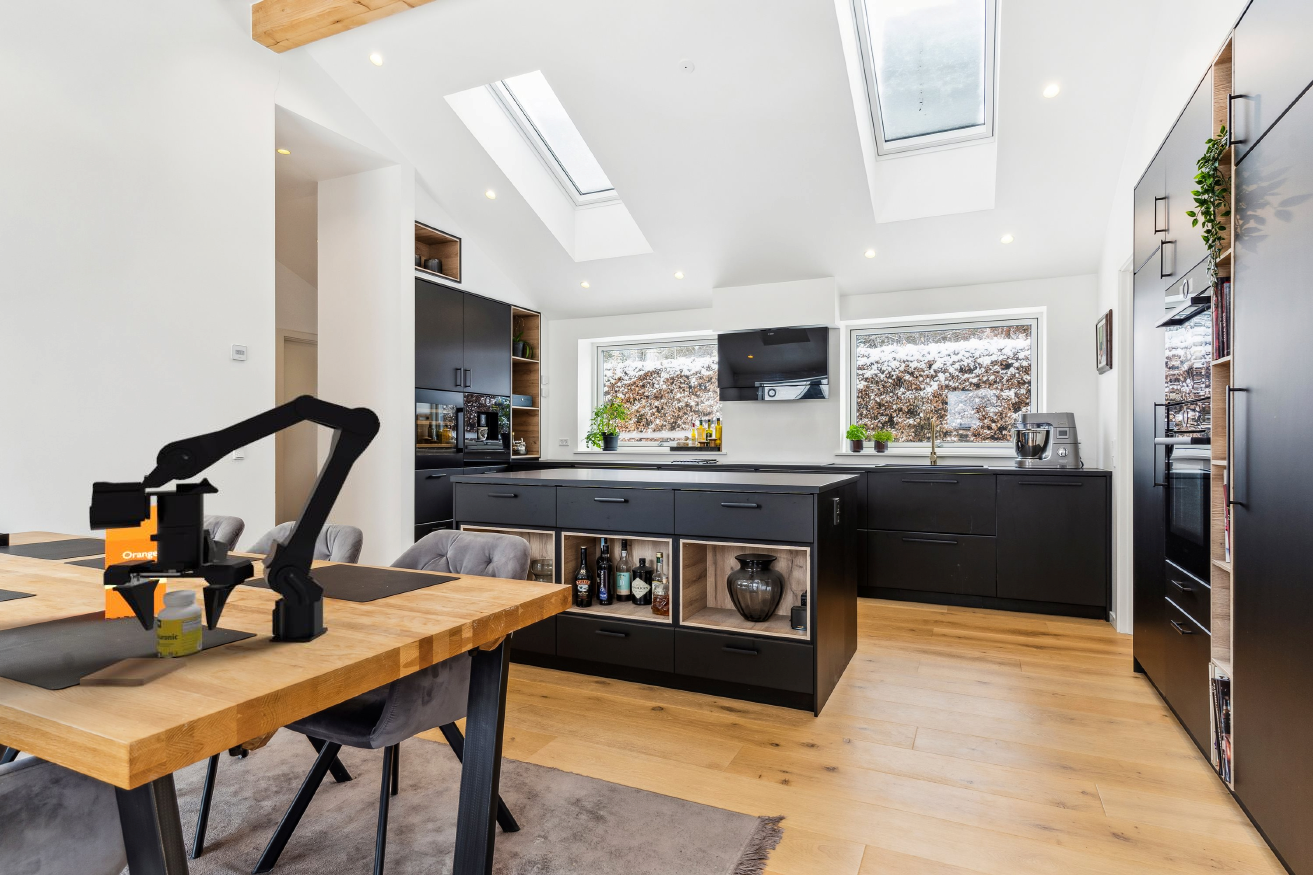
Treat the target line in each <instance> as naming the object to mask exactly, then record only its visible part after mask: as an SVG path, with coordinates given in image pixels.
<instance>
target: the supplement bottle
mask: <svg viewBox="0 0 1313 875" xmlns="http://www.w3.org/2000/svg"><path fill="white" fill-rule="evenodd" d="M196 601H197V591H196V590H193V589H181V590H174V591H168V592H166V593H165V594H164V595H163V604H164V605H165V608H163V609H161V610H160V611H159V613H157V619H156V622H157V623H156V624H157V628H156V629H157V632H156V633H157V635H156V637H157V638H156V639H157V640H156V641H157V646H156V647H157V648H156V650H157V655H158V656H157V655H156V656H157V658H160V657H178V658H185V657H189V656H193V655H196V654H199V653H201V652H202V651H203V650H202V649H203V647H202V646H203V632H202V631H203V630H202V629H203V628H202V627H203V626H202V625H203V624H202V623H203V622H202V621H203V619H202V618H203V617H202V614H203V613H202V612H203V610H202V607H201V606H200V605H198V604H196V603H195V602H196Z"/></svg>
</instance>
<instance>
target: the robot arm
mask: <svg viewBox="0 0 1313 875" xmlns="http://www.w3.org/2000/svg"><path fill="white" fill-rule="evenodd" d="M303 421H308V422H311V423H314V424H317V425H320V426H322V427H325V428H329V429H331V430H333V432H332V435H331V441H330V445H329V451H328V455H327V457H326V460H325V461H324V463H323V465H322V468H321V470H320V472H319V474H318V476H317V478H316V480H315V481H314V483H313V485H312V488H311V490H310V492H309V493H308V496H307V498H306V499H305V502H304V504H303V507H301V510H300V512H299V514H298V516H297V518H296V520H295V522H294V524H293V526H292V528H291V530H290V532H289V533H288V534H287V535H286V536H285V538H283V540H282V541H281V540H278V539H276V538H273V539H272V541H271V544H270V546H269V551H268V553H267V554H266V555H265V557H264V558H263V559H262V560H261V563H262V565H263V569H262V575H263V578H264V580H265V582H266V584H267V585H268V587H269V588H270V589H271V590H272V591H273V592H274V593H276V594H279V596H281V597H280V598H278V599H276V600H275V601H274V608H273V609H272V611H271V612H272V613H271V627H272V628H271V630H272V631H271V634H272V635H273V636H271V637H270V638H268V640H269V641H268V642H270V643H273V642H274V643H275V642H277V643H281V642H283V643H284V642H285V643H286V642H287V643H288V642H290V643H291V642H293V643H294V642H296V643H297V642H299V643H300V642H301V643H302V642H303V643H304V642H307V643H308V642H312V641H313V640H315V639H316V638H318V637H319V636H321V635H323V634H325V633H326V632H328V630H329V628H328V627H327V626H326V627H325V626H324V596H323V593H324V587H323V586H322V585H320V583H319V582H318V581H317V580H316V579H315V578H313V577H312V576H311V575H310V573H311V569H312V566H313V562H314V556H315V552H316V551H315V550H316V544H317V540H318V539H319V536H320V534H321V532H322V531H323V527H324V526H325V524H326V522H327V520H328V518H329V516H330V513H331V511H332V509H333V507H334V505H335V503H336V501H337V499H338V496H339V495H340V492H341V490H342V488H343V487H344V484H345V483H346V480H347V478H348V476H349V474H350V473H351V472H350V471H351V470H352V467H353V465H354V464H355V462H356V461H357V460H358V459H359V458H360V457H361V455H362V454H363V453H364V452H365V451H366V450H367V449H368V447H369V446H370V445H371V443H372V441H373V440H374V439H375V438H376V436H377V435H378V434H379V431H380V428H381V421H380V419H379V416H378V415H377V413H376V412H375V411H374V410H373V409H370V408H367V407H365V406H361V407H360V406H359V407H358V406H357V407H347V406H344V405H342V404H341V405H340V404H336V403H334V402H330V401H326V400H322V399H319V398H316V397H315V396H313V395H310V394H302V395H299V396H296V397H294V398H293V399H291V401H288V402H284V403H283V404H281V405H277V406H276V407H273V408H270V409H268V410H265V411H263V412H260V413H258V414H256V415H253V416H251V417H249V418H246V419H244V420H241V421H239V422H236V423H235V424H233V425H230V426H227V427H224V428H222V429H219V430H215V431H212V432H211V431H210V432H208V433H203V434H199V435H195V436H192V437H187V438H183V439H179V440H175V441H171V442H168V443H167V444H165V445H163V447H161V448H160V450H159V451H158V452H157V455H156V458H155V459H156V461H155V462H156V466H155V467H154V468H153V469H152V470H151V472H149V474H145V475H144V476H143V480H142V481H126V482H125V481H121V482H119V481H118V482H117V481H116V482H112V481H104V480H103V481H94V482H93V483H92V493H91V503H90V504H91V505H89V507H88V509H89V511H88V514H89V516H88V517H89V519H88V520H89V529H90V531H103V530H104V531H106V530H107V529H123V528H139V527H141V523H142V522H145V519H146V520H151V506H152V497H156V505H157V533H156V534H151V535H150V542H157V561H155V560H128V561H124V562H120V563H116V564H112V565H109V566H108V567H107V569H106V570H104V572H103V573H102V577H103V578H102V584H103V585H102V586H105V585H116V586H115V587H112V591H117V592H119V594H120V595H121V596H122V597H123V599H124V600H125V601H126V602H127V604H128V605H129V606H130V607H131V609H132V610H133V612H134V613H135V615H136V616H135V617H136V618H137V620H138V621H139V623H140V624H141V626H142V627H143V629H144V630H145V632H147V631H152V630H153V629H154V624H155V614H154V592H155V589H156V587H157V585H158V583H159V581H160V579H150V578H166V579H204V581H205V582H206V583H207V584H208V585H207V586H203V587H202V595H203V603H204V612H205V620H206V625H207V629H208V631H213V630H215V629H216V628H217V627H218V626H217V625H218V623H219V621H220V618H221V616H222V613H223V610H224V609H225V606H226V603H227V601H228V599H229V597H230V595H231V593H232V592H233V591H234V590H235V588H236V587H238V586H239V585H242V584H244V583H245V581H246V580H248V579H251V578H254V577H255V565H254V564H253V563H252V561H251V560H250V559H248V558H247V559H246V558H244V559H243V558H242V559H241V558H238V559H237V558H230V559H228V554H229V549H230V544H229V543H226V542H222V541H220V540H217V539H212V537H211V536H212V535H211V534H212V533H211V531H210V528H204V527H205V526H204V525H205V524H204V523H205V522H204V521H205V520H204V518H205V516H204V515H205V514H204V513H205V506H204V504H205V503H204V502H205V500H204V498H205V497H204V496H205V495H207V494H209V495H210V494H211V495H213V494H217V493H219V489H218V487H217V486H215V485H214V484H212V483H211V482H210V481H209V479H208V478H207V476H206V477H203V478H202V479H201V480H200V481H199V482H181V483H175V489H172V490H151V491H149V490H147V489H160V488H162V487H163V486H165V485H167V484H169V483H170V482H172V481H174V480H175V481H186V480H189V479H191V478H193V477H195V476H197V475H199V474H201V473H202V472H203V471H205V470H206V469H209V467H212V466H213V465H215V464H217V463H218V462H219V461H220V460H222V459H223V458H225V457H226V456H228V455H229V454H231V453H233V452H234V451H237V450H239V449H241V448H244V447H246V446H248V445H250V444H253V443H255V442H257V441H259V440H262V439H264V438H267V437H269V436H271V435H273V434H276V433H278V432H280V431H282V430H285V429H287V428H289V427H292V426H295V425H296V424H299V423H301V422H303Z"/></svg>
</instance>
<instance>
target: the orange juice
mask: <svg viewBox="0 0 1313 875" xmlns="http://www.w3.org/2000/svg"><path fill="white" fill-rule="evenodd" d="M156 533H157V504H156V505H151V520H146V519H145V522H142V523H141V527H139V528H123V529H107V530H105V542H104V543H105V554H104V555H105V560H104V561H105V562H104V563H105V564H104V565H105V570H106V569H107V567H108V566H109V565H112V564H116V563H120V562H124V561H128V560H155V561H157V542H150V535H151V534H156ZM105 570H104V571H105ZM150 579H160V581H159V583H158V585H157V587H156V589H155V592H154V615H155V614H157V615H158V613H159V611H160V610H161V609H163V608H165V605H164V604H163V595H164V594H165V593H167V578H150ZM115 586H116V585H104V592H105V593H104V594H105V596H104V597H105V598H104V599H105V603H104V604H105V605H104V606H105V607H104V608H105V620H107V619H106V618H111V619H117V617H120V618H125V617H124V616H129V617H136V615H135V613H134V612H133V610H132V609H131V607H130V606H129V605H128V604H127V602H126V601H125V600H124V599H123V597H122V596H121V595H120V594H119V592H117V591H112V587H115Z"/></svg>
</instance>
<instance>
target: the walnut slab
mask: <svg viewBox="0 0 1313 875" xmlns="http://www.w3.org/2000/svg"><path fill="white" fill-rule="evenodd" d="M186 666H187V657H178V658H160V657H127V658H126V659H124V660H121V661H118V662H116V663H114V664H111V665H109V666H107V667H104V668H102V669H100V670H98V671H95V672H93V673H91V674H89V675H86V676H84V677H82V678H80V679H79V686H130V687H131V686H135V687H137V686H138V687H139V686H141V687H143V686H146V685H148V684H150V683H153V682H155V681H156V680H159V679H161V678H163V677H165V676H167V675H169V674H172V673H174V672H176V671H178V670H180V669H182V668H185V667H186Z"/></svg>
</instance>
